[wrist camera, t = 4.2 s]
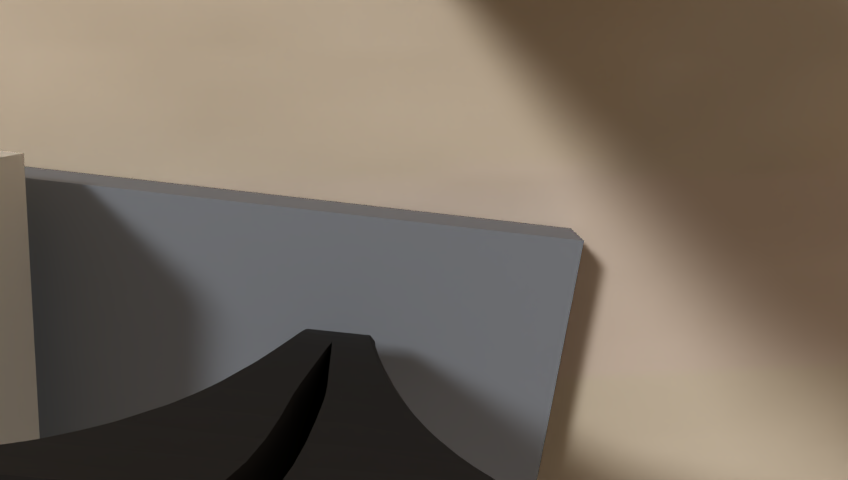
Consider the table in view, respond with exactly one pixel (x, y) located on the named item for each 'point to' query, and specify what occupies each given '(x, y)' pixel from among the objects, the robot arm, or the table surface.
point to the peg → (16, 309)
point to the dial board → (293, 303)
